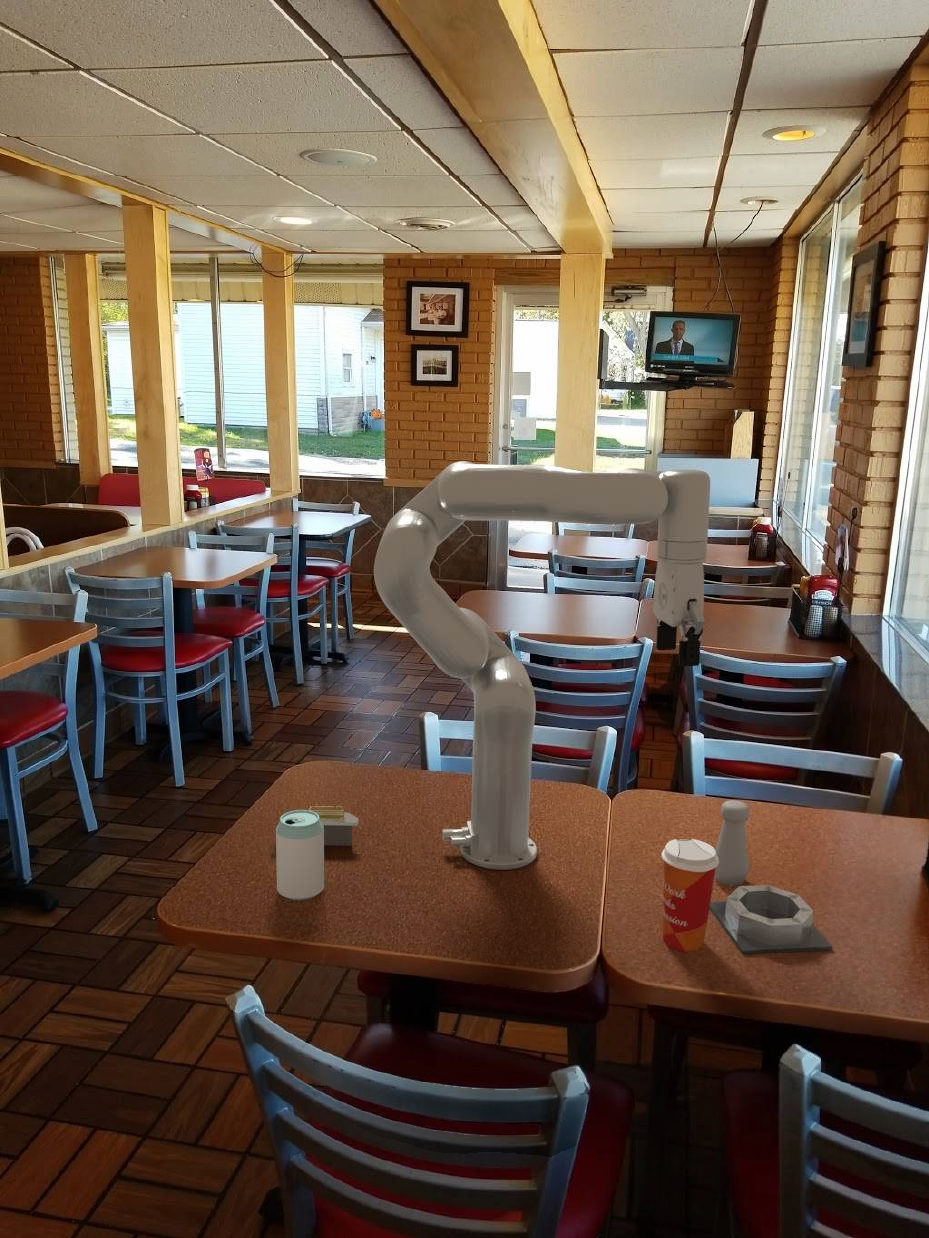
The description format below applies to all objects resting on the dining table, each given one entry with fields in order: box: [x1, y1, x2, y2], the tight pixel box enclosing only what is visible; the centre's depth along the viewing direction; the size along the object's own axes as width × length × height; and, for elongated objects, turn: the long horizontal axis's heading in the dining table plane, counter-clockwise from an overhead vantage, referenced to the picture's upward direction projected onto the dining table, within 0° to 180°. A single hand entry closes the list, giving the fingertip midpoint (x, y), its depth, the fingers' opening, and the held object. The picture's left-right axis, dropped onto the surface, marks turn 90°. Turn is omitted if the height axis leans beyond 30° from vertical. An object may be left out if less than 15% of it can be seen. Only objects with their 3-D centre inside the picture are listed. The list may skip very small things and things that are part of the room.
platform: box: [308, 805, 359, 847], centre depth 161 cm, size 12×18×7 cm, turn 91°
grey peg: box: [714, 799, 751, 887], centre depth 151 cm, size 6×6×13 cm
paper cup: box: [661, 838, 719, 953], centre depth 133 cm, size 8×8×14 cm
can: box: [275, 809, 325, 901], centre depth 144 cm, size 7×7×12 cm
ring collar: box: [709, 884, 833, 956], centre depth 139 cm, size 13×13×4 cm
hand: (677, 657), depth 153 cm, fingers open, 9 cm apart
